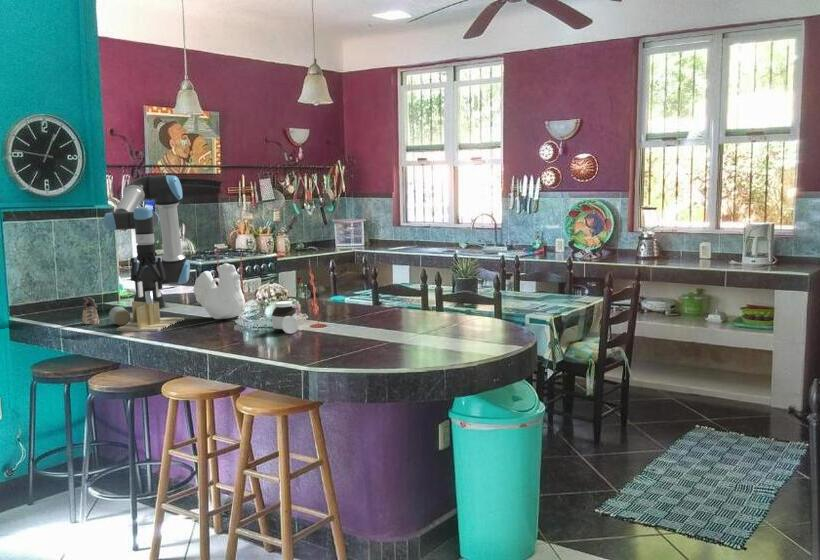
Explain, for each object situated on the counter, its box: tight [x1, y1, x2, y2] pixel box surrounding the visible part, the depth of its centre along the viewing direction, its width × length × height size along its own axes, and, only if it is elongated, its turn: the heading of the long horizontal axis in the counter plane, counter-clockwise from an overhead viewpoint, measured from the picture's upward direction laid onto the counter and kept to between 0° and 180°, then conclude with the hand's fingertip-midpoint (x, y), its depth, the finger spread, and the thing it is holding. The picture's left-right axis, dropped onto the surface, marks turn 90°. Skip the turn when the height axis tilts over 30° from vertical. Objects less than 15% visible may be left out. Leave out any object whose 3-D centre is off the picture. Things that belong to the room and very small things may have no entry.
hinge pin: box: [145, 291, 154, 304], centre depth 334 cm, size 3×3×14 cm
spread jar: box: [271, 300, 299, 335], centre depth 312 cm, size 12×11×12 cm
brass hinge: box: [131, 300, 161, 329], centre depth 332 cm, size 15×14×9 cm
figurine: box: [81, 296, 101, 326], centre depth 345 cm, size 7×7×12 cm
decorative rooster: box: [192, 263, 246, 320], centre depth 347 cm, size 25×16×25 cm, turn 55°
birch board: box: [115, 317, 185, 332], centre depth 336 cm, size 24×19×1 cm
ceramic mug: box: [108, 306, 134, 327], centre depth 341 cm, size 11×8×8 cm
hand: (149, 296), depth 333 cm, fingers open, 8 cm apart
